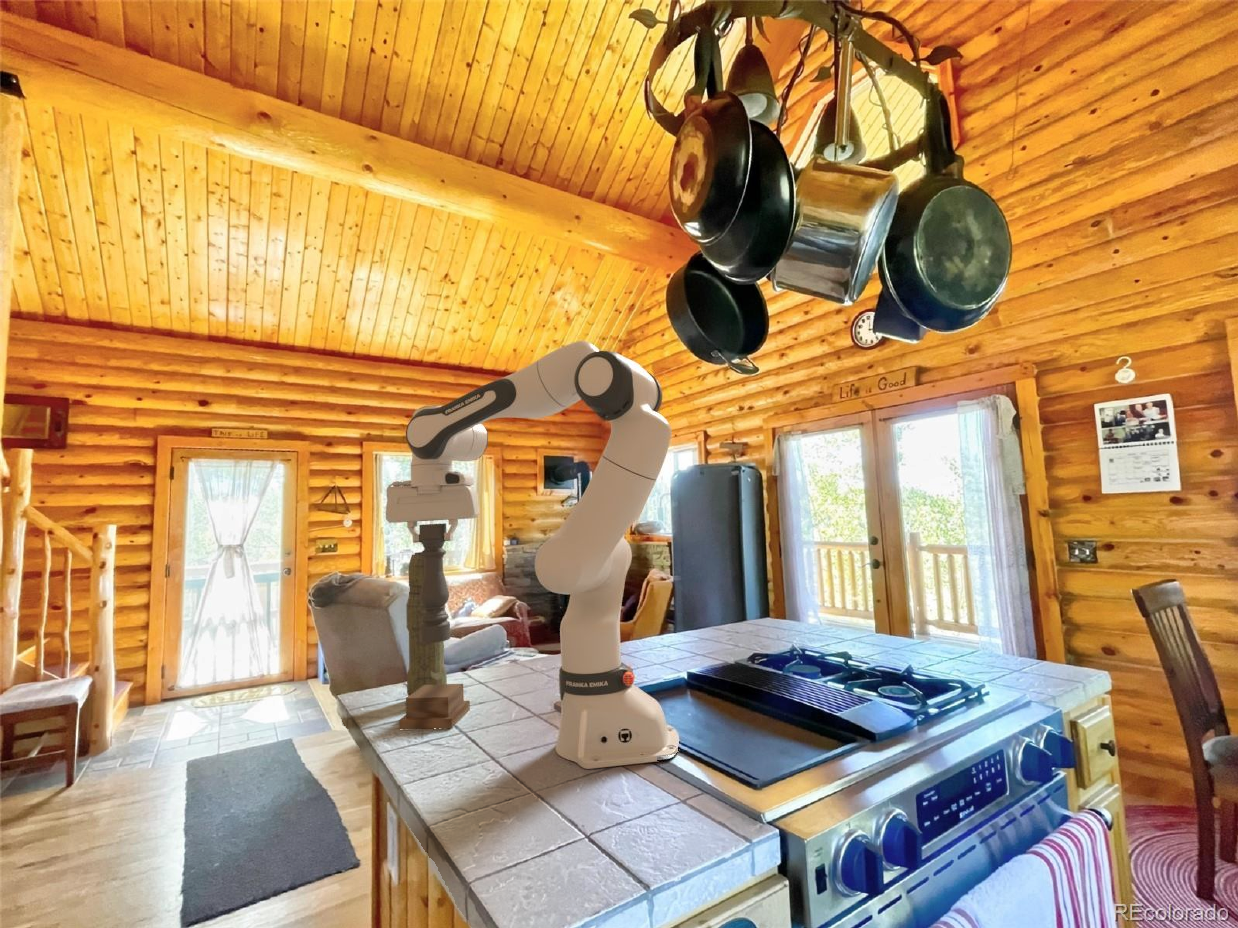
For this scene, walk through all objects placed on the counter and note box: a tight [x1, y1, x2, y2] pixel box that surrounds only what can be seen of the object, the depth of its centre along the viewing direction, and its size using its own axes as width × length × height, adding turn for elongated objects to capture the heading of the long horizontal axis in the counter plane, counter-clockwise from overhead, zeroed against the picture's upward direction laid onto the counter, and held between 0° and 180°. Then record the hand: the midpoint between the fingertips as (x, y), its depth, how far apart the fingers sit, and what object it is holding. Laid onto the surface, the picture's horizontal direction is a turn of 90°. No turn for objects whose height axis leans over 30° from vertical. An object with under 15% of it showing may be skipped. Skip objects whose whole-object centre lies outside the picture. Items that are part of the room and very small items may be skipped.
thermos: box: [405, 551, 448, 697], centre depth 132 cm, size 9×12×35 cm
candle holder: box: [418, 522, 451, 643], centre depth 121 cm, size 6×6×25 cm
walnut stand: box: [398, 683, 471, 730], centre depth 118 cm, size 11×11×6 cm
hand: (433, 541), depth 121 cm, fingers closed on candle holder, 6 cm apart
